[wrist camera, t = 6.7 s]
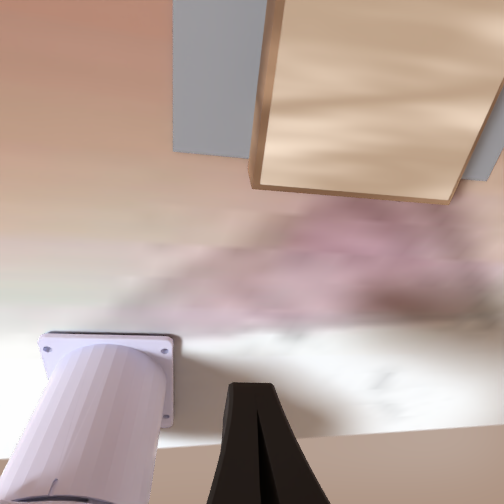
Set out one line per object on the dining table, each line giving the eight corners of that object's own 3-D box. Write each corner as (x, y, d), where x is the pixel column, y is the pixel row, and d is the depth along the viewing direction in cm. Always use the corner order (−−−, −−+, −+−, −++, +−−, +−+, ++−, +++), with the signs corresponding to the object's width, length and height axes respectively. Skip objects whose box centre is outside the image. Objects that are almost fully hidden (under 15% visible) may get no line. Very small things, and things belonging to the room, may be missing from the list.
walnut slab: (451, 207, 15) (555, -19, 11) (252, 190, 14) (285, -71, 10) (420, 185, 17) (497, -9, 13) (247, 169, 16) (272, -49, 12)
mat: (483, 179, 18) (486, 181, 18) (173, 150, 16) (173, 151, 15) (611, -78, 13) (616, -79, 12) (173, -175, 10) (172, -179, 10)
